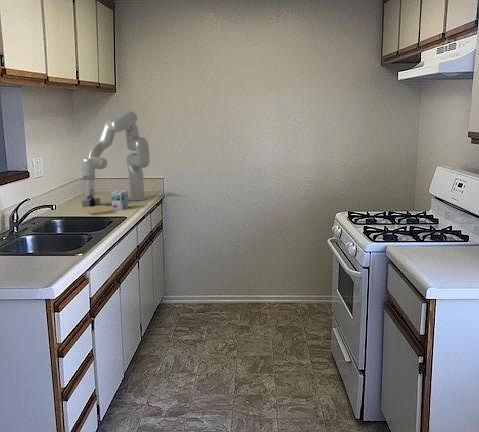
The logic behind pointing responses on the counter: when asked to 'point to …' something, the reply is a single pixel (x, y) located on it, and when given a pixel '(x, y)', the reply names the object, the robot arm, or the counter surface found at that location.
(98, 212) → the oak board
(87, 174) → the robot arm
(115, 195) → the light bulb box
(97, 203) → the sanding block
